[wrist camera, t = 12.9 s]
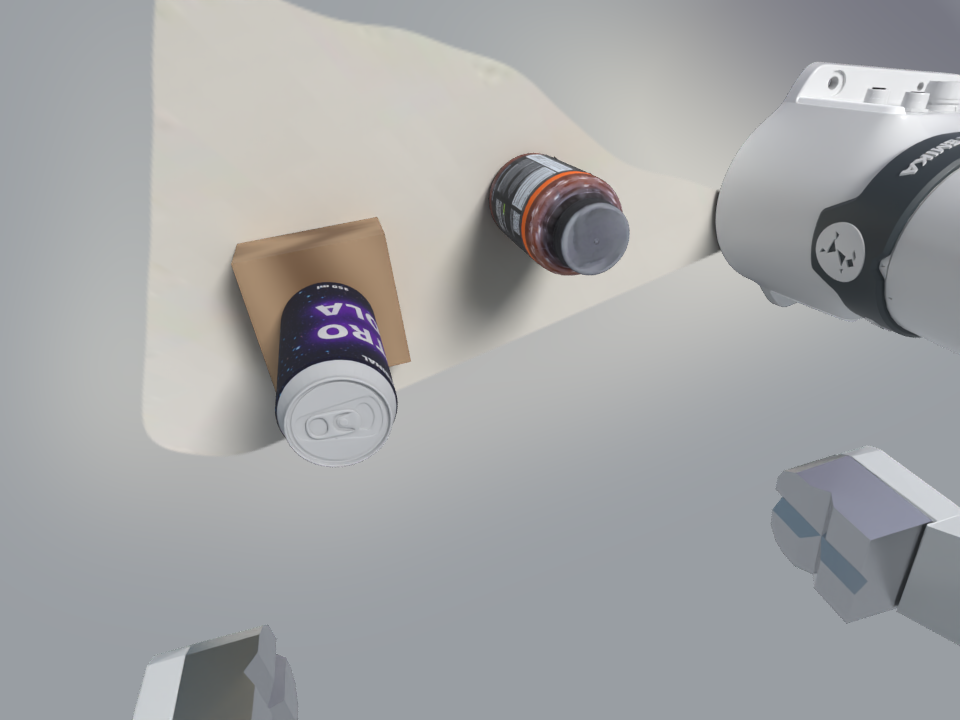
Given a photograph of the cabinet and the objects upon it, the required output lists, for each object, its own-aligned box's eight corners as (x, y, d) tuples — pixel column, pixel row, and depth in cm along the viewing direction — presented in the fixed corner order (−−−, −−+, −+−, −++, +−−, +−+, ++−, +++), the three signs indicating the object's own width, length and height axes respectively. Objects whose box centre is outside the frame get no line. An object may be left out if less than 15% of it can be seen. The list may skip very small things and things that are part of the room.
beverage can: (379, 351, 39) (407, 460, 29) (291, 366, 38) (288, 485, 28) (367, 270, 36) (393, 360, 26) (271, 283, 35) (260, 382, 25)
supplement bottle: (580, 206, 43) (663, 254, 33) (512, 253, 43) (574, 315, 33) (544, 132, 39) (623, 161, 30) (470, 183, 40) (525, 229, 30)
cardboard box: (377, 217, 39) (384, 233, 36) (402, 336, 44) (411, 361, 40) (237, 243, 38) (231, 264, 34) (278, 364, 42) (276, 393, 39)
